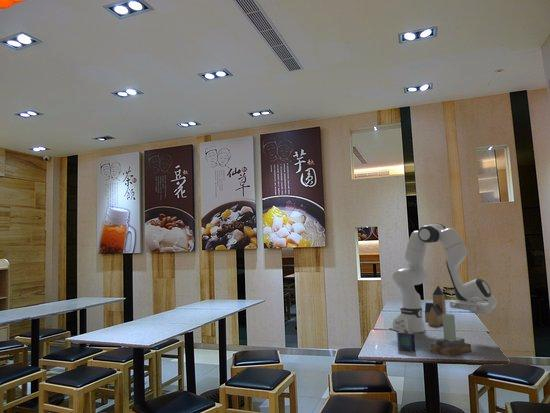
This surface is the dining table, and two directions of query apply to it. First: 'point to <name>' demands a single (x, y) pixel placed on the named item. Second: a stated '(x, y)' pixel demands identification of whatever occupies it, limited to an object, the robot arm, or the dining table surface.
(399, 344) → the flask
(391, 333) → the dining table surface
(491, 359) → the dining table surface
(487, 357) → the dining table surface
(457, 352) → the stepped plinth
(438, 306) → the toy building blocks
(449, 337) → the sage column
